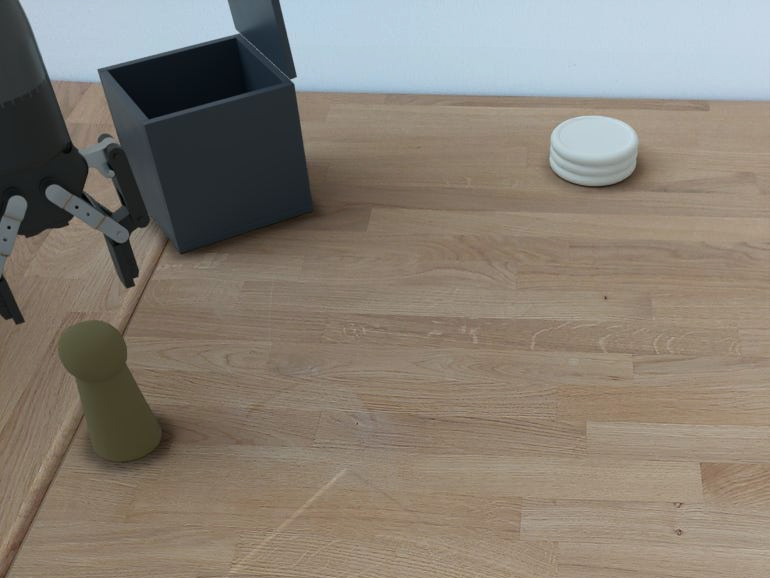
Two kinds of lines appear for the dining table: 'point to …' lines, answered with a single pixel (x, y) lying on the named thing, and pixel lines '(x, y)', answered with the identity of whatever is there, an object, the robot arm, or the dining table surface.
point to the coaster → (593, 150)
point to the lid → (264, 31)
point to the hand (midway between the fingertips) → (73, 300)
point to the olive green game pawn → (108, 392)
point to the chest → (210, 139)
